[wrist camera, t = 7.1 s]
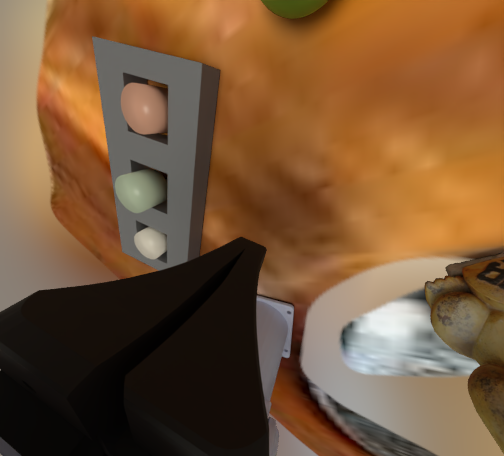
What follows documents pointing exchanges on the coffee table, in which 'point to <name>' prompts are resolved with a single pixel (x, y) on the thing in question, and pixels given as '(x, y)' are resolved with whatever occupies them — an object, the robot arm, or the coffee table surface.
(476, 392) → the decorative figurine
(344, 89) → the coffee table surface
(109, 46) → the button panel
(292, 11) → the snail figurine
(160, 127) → the terracotta button
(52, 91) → the coffee table surface
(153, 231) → the cream button
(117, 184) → the sage button
